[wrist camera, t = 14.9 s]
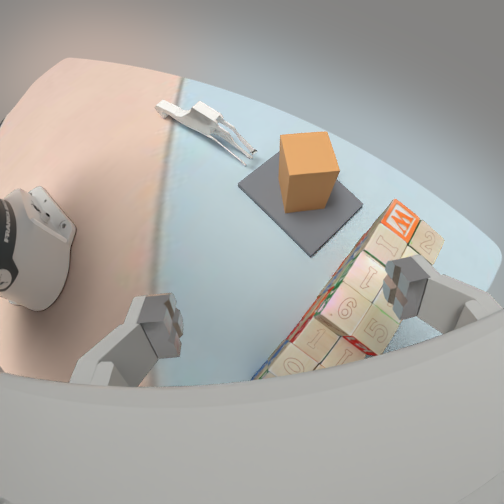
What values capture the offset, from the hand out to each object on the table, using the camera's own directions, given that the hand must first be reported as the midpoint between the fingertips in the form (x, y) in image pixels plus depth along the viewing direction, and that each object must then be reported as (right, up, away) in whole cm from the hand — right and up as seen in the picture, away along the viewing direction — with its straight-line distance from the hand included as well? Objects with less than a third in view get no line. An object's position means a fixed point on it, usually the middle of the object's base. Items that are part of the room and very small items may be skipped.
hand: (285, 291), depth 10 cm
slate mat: (+5, +9, +26) cm, 27 cm away
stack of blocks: (+8, -7, +21) cm, 24 cm away
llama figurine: (-8, +19, +30) cm, 36 cm away
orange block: (+5, +9, +25) cm, 27 cm away
